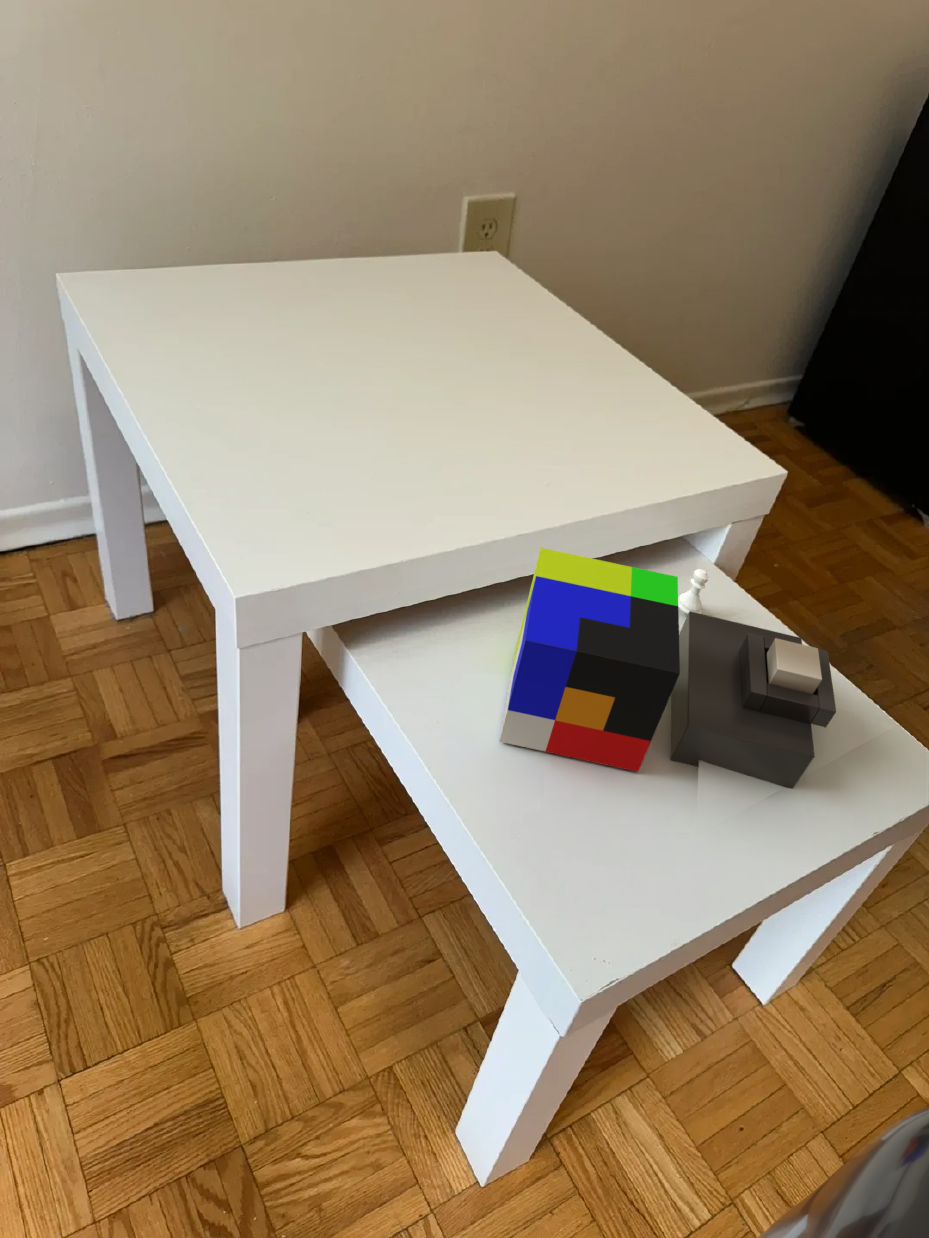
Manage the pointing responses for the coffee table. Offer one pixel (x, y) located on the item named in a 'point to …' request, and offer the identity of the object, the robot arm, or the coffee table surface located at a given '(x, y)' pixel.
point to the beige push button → (793, 666)
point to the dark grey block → (742, 703)
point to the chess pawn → (693, 593)
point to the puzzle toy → (593, 660)
